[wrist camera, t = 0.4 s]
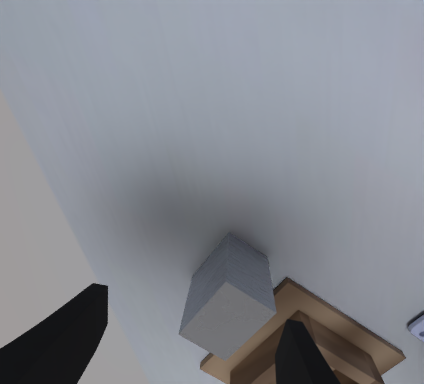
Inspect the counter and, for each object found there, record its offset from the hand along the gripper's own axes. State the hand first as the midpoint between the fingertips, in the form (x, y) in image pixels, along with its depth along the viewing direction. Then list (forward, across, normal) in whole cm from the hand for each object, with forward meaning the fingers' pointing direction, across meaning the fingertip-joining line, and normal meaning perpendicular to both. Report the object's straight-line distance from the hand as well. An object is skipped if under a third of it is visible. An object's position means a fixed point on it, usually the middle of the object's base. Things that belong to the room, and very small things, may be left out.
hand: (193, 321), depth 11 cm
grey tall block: (+10, -2, +4) cm, 11 cm away
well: (+10, -9, +12) cm, 18 cm away
